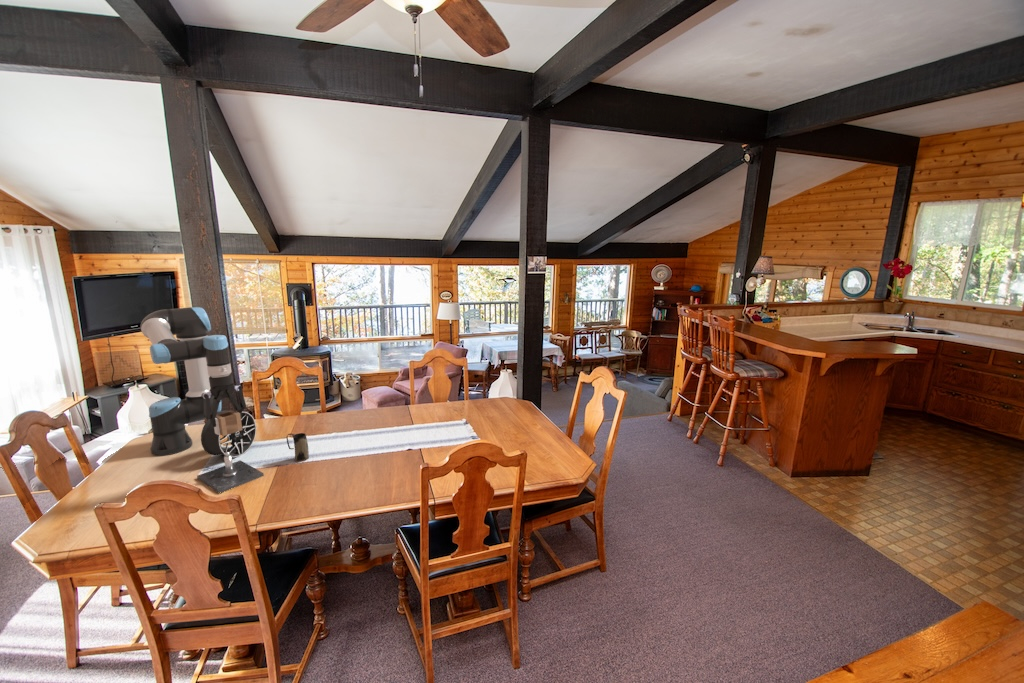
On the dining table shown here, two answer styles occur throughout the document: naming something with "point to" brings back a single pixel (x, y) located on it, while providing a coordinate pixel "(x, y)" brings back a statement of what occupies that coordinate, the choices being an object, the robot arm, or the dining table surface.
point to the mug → (300, 447)
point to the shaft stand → (229, 475)
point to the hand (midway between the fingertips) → (228, 430)
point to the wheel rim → (229, 437)
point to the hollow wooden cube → (229, 422)
